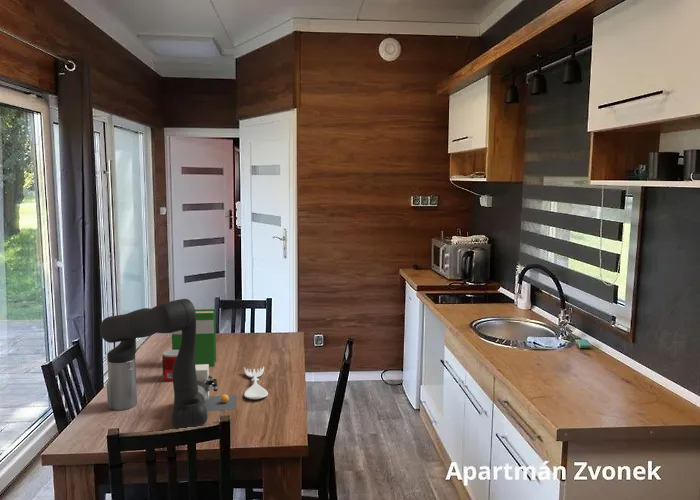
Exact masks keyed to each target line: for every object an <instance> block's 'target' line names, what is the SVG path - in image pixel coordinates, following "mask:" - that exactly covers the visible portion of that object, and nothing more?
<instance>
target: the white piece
mask: <svg viewBox="0 0 700 500" xmlns="http://www.w3.org/2000/svg"><path fill="white" fill-rule="evenodd" d="M243 371H244V373H245V375H246V376H247V377H248V378H251V379H250V382H253V384H252V385H251V386H249V387H248V388H247V389H246V390H245V392H244V393H243V396H244V397H245V398H246V399H249V400H261V399H264V398H265V397H267V396H268V395H269V392H268V390H267V389H266V388H264V387H262V386H261V385H260V384H258V382H259V380H260V379H259V377H261V376H262V375H263V373H264V371H265V366H264V365H263V366H262V368H261V367H259V368H257V369H255V368H253V369H251V368H248V367H247V368H246V367H245V366H244V367H243Z"/></svg>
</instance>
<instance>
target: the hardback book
mask: <svg viewBox="0 0 700 500" xmlns="http://www.w3.org/2000/svg"><path fill="white" fill-rule="evenodd" d="M195 312H196V348H195V365H201V364H209V368H215V366H216V365H215V363H216V362H217V333H216V332H217V331H216V330H217V329H216V322H217V321H216V308H202V309H201V308H200V309H198V308H195ZM181 342H182V330H180V331H176V332H172V333H171V350H179V349H180V346H181Z"/></svg>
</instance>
